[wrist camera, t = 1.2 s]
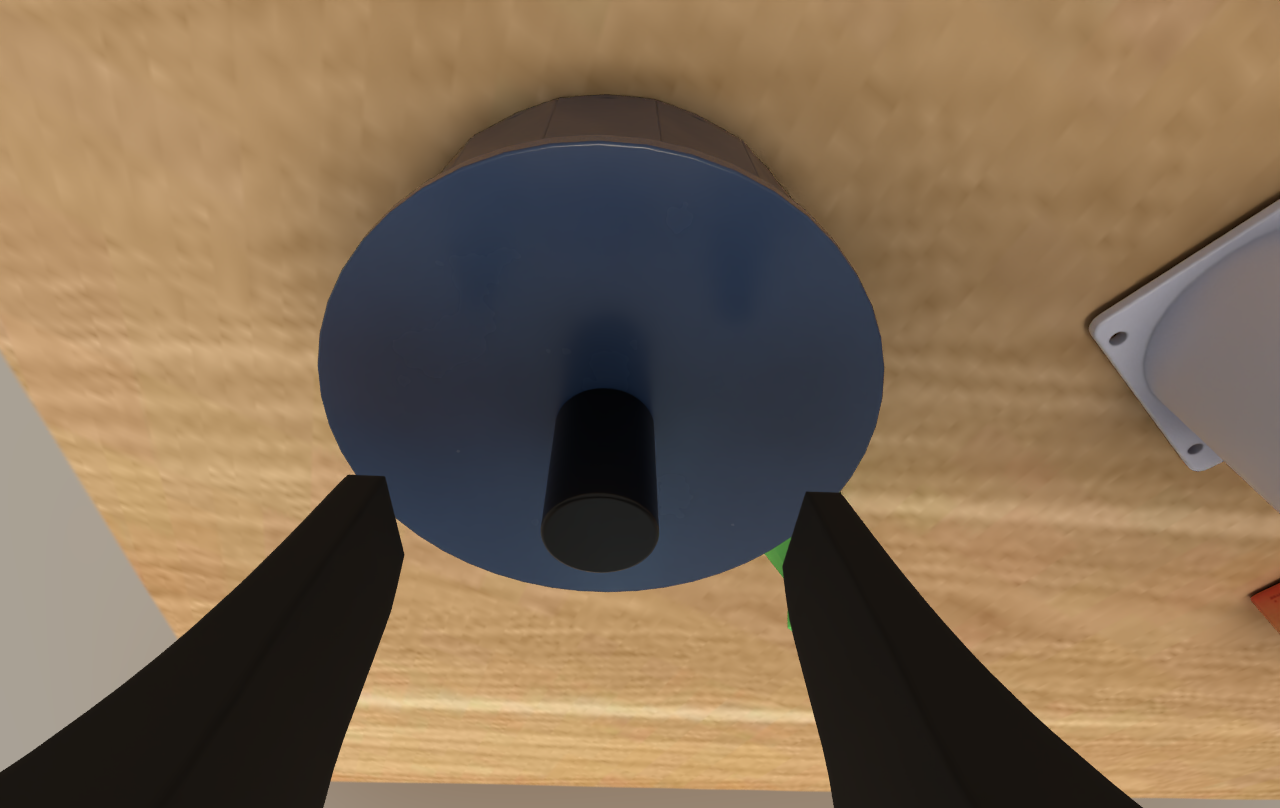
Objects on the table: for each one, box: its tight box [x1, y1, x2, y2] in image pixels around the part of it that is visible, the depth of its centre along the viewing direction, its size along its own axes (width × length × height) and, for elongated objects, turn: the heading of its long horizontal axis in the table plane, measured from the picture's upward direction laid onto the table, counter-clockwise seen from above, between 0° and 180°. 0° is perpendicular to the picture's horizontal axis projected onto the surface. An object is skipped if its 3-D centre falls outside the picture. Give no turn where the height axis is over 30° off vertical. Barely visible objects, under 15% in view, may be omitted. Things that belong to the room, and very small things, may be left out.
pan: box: [440, 95, 791, 199], centre depth 18 cm, size 12×12×5 cm
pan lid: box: [318, 134, 884, 592], centre depth 15 cm, size 13×13×5 cm
